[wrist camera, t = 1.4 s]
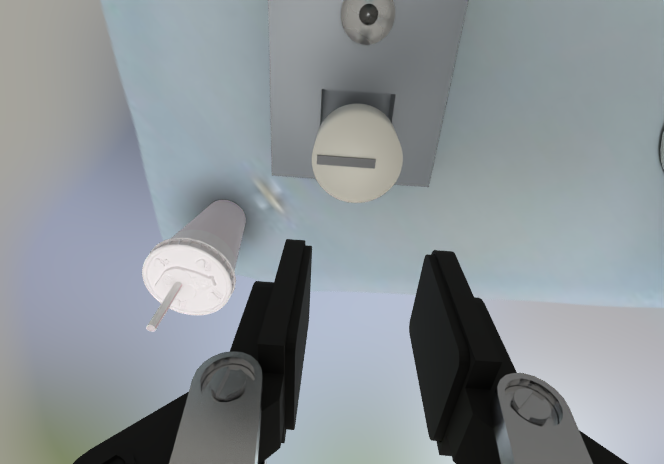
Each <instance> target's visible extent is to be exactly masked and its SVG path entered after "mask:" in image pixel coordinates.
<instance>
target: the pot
mask: <svg viewBox="0 0 664 464" xmlns="http://www.w3.org/2000/svg"><path fill="white" fill-rule="evenodd" d="M394 19H395V5H394V1H393V0H344V1H343V4H342V8H341V22H342V26H343V28H344V30H345V32H346V34H347V35H348V36H349V37H350V38H351V39H352V40H353V41H355V42H357V43H359V44H363V45H370V44H375V43H377V42H379V41H381V40H382V39H383V38H384V37H385V36H386V35H387V34H388V33H389V31H390V30H391V28H392V26H393V23H394Z"/></svg>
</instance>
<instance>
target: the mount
mask: <svg viewBox="0 0 664 464" xmlns="http://www.w3.org/2000/svg"><path fill="white" fill-rule="evenodd" d="M343 1H344V0H268V12H269V60H270V108H271V156H272V175H273V176H286V177H300V178H313V179H316V177H315V175H314V172H313V168H312V152H313V148H314V144H315V140H316V137H317V133H318V130H319V128H320V126H321V124H322V122H323V121H324V119H325V118H326V117H327V116H328V115H329V114H330V113H331V112H333V111H334V110H336V109H337V108H339V107H342V106H345V105H348V104H366V105H370V106H372V107H375V108H377V109H378V110H380V111H381V112H383V113H384V114H385V115H386V116H387V117H388V118H389V120H390V121H391V123H392V125H393V127H394V129H395V132H396V134H397V137H398V139H399V142H400V145H401V148H402V153H403V163H402V169H401V172H400V175H399V177H398V179H397V181H396V182H395V184H394V185H407V186H420V187H429V183H430V178H431V174H432V169H433V164H434V160H435V155H436V150H437V146H438V141H439V136H440V132H441V127H442V122H443V117H444V113H445V108H446V103H447V99H448V94H449V89H450V85H451V80H452V75H453V71H454V66H455V61H456V56H457V52H458V47H459V42H460V38H461V33H462V28H463V24H464V19H465V14H466V10H467V5H468V0H393V1H394V5H395V19H394V23H393V26H392V28H391V30H390V31H389V33H388V34H387V35H386V36H385V37H384V38H383V39H382V40H381V41H379V42H377V43H375V44H370V45H363V44H359V43H357V42H355V41H353V40H352V39H351V38H350V37H349V36H348V35H347V34H346V32H345V30H344V28H343V26H342V22H341V8H342V4H343Z"/></svg>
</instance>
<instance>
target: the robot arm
mask: <svg viewBox="0 0 664 464" xmlns="http://www.w3.org/2000/svg"><path fill="white" fill-rule="evenodd" d="M660 152H661V163H662V166H663V169H664V132H663V135H662V141H661V147H660ZM311 259H312V246H305V241H304V240H291V239H287V240H286V242H285V246H284V249H283V253H282V256H281V260H280V264H279V267H278V271H277V274H276V278H275V281H274V282H261V281H256V282H255V283H254V285H253V287H252V290H251V293H250V296H249V299H248V301H247V304H246V307H245V310H244V313H243V316H242V318H241V321H240V324H239V327H238V330H237V333H236V335H235V338H234V341H233V344H232V347H231V350H230V352H224V353H220V354H218V355H215V356H213V357H211V358H210V359H208V360H207V361H205V362H204V363H203V364H202V365H201V366H200V367H199V368H198V369H197V371H196V373H195V375H194V377H193V379H192V383H191V386H190V390H189V392H187V393H186V394H184V395H182V396H181V397H179V398H177V399H175V400H174V401H172V402H170V403H169V404H167V405H165V406H163V407H162V408H160V409H158V410H157V411H155V412H153V413H152V414H150V415H148V416H146V417H145V418H143V419H141V420H140V421H138V422H136V423H135V424H133V425H131V426H130V427H128V428H126V429H124V430H123V431H121V432H119V433H118V434H116V435H114V436H112V437H111V438H109V439H107V440H105V441H104V442H102V443H100V444H99V445H97V446H95V447H94V448H92V449H90V450H89V451H88V452H86V453H85V454H83V455H82V456H80V457H79V458H78V459H77V460H76V461H75V462H74V463H73V464H266V459H267V458H268V457H269V456H271V454H273V453H274V452H276V451H277V450H278V449H279V448H280V446H281V443H284V442H285V434H286V429H290V430H294V428H295V422H296V414H297V407H298V399H299V391H300V384H301V376H302V368H303V361H304V354H305V345H306V338H307V330H308V322H309V306H310V305H309V304H310V282H311ZM409 332H410V338H411V344H412V349H413V354H414V359H415V365H416V370H417V375H418V380H419V386H420V391H421V396H422V402H423V407H424V412H425V418H426V423H427V428H428V433H429V437H430V439H431V440H433V441H437V446H438V450H439V455H445V456H452V458H453V461H454V462H455V463H456V464H628V463H626V462H625V461H623V460H622V459H620V458H619V457H618V456H616V455H615V454H613V453H612V452H610V451H609V450H607V449H606V448H604V447H603V446H601V445H600V444H598V443H597V442H595V441H594V440H593V439H591V438H590V437H588V436H587V435H585V434H584V433H582V432H581V431H579V430H578V427H577V425H576V423H575V421H574V418H573V416H572V413H571V411H570V409H569V407H568V405H567V403H566V401H565V400H564V398H563V397H562V396H561V395H560V394H559V393H558V392H557V391H556V390H555V389H554V388H553V387H551V386H550V385H549V384H548V383H546V382H545V381H543V380H541V379H539V378H537V377H535V376H531V375H528V374H524V373H517V372H516V370H515V368H514V366H513V364H512V362H511V359H510V357H509V355H508V353H507V351H506V349H505V347H504V344H503V342H502V340H501V338H500V336H499V334H498V332H497V330H496V327H495V325H494V323H493V321H492V319H491V317H490V314H489V312H488V310H487V308H486V306H485V304H484V302H483V301H482V299H480V298H474V296H473V294H472V292H471V289H470V287H469V285H468V283H467V280H466V278H465V276H464V273H463V271H462V269H461V267H460V264H459V262H458V260H457V258H456V255H455V253H454V252H451V251H437V250H434V251H433V252H432V254H431V255H426V256H425V259H424V263H423V267H422V271H421V276H420V280H419V284H418V289H417V293H416V297H415V302H414V306H413V310H412V315H411V319H410V326H409Z"/></svg>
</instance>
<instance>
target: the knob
mask: <svg viewBox="0 0 664 464" xmlns="http://www.w3.org/2000/svg"><path fill="white" fill-rule="evenodd" d="M402 163H403V153H402V148H401V145H400V142H399V139H398V137H397V134H396V132H395V129H394V127H393V125H392V123H391V121H390V120H389V118H388V117H387V116H386V115H385V114H384V113H383V112H381V111H380V110H378V109H377V108H375V107H372V106H370V105H366V104H348V105H345V106H342V107H339V108H337V109H336V110H334V111H333V112H331V113H330V114H329V115H328V116H327V117H326V118H325V119H324V121H323V122H322V124H321V126H320V128H319V130H318V133H317V137H316V140H315V144H314V148H313V152H312V168H313V172H314V175H315V177H316V180H317V181H318V183H319V184H320V186H321V187H322V188H323V189H324V190H325V191H326V192H327V193H328V194H330V195H331V196H333V197H335V198H336V199H339V200H341V201H345V202H351V203H362V202H368V201H371V200H374V199H376V198H378V197H380V196H382V195H383V194H385V193H386V192H387V191H388V190H389V189H390V188H391V187H392V186H393V185H394V184H395V182H396V181H397V179H398V177H399V175H400V172H401V169H402Z"/></svg>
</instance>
